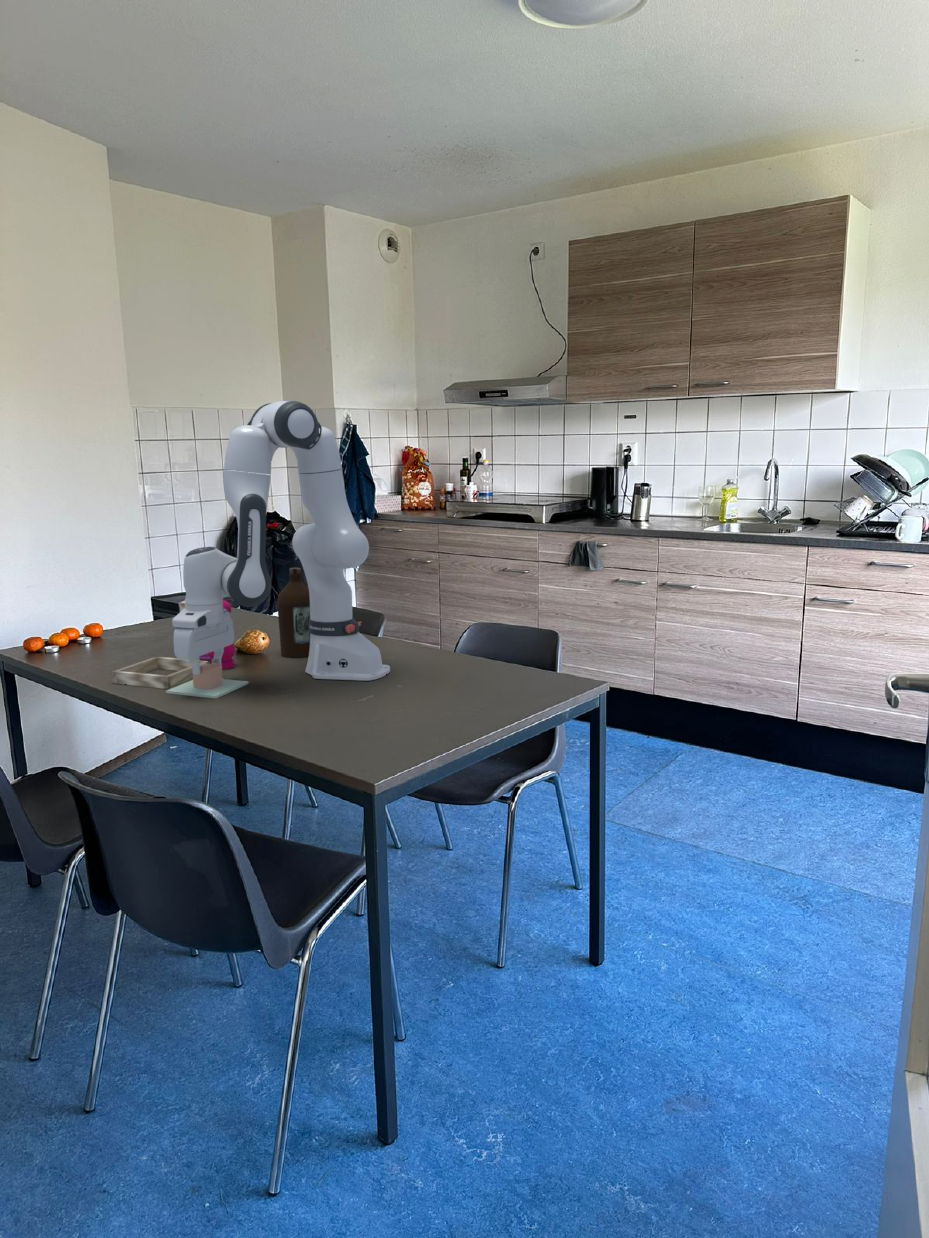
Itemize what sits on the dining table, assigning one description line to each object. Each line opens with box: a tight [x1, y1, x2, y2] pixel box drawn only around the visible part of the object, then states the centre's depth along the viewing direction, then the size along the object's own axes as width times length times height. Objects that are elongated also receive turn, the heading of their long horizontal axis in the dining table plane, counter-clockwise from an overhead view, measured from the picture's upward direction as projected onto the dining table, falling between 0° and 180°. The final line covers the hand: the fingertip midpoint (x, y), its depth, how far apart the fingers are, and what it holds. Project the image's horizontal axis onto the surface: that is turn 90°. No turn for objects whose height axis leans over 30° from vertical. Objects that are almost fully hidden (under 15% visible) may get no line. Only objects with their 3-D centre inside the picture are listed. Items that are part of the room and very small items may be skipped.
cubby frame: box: [111, 656, 210, 690], centre depth 222 cm, size 16×17×3 cm
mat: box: [165, 678, 249, 699], centre depth 213 cm, size 14×14×1 cm
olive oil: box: [276, 567, 310, 659], centre depth 247 cm, size 11×11×25 cm
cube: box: [192, 663, 223, 689], centre depth 212 cm, size 5×5×5 cm
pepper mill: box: [208, 599, 236, 670], centre depth 232 cm, size 7×7×20 cm
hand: (207, 669), depth 212 cm, fingers open, 7 cm apart
